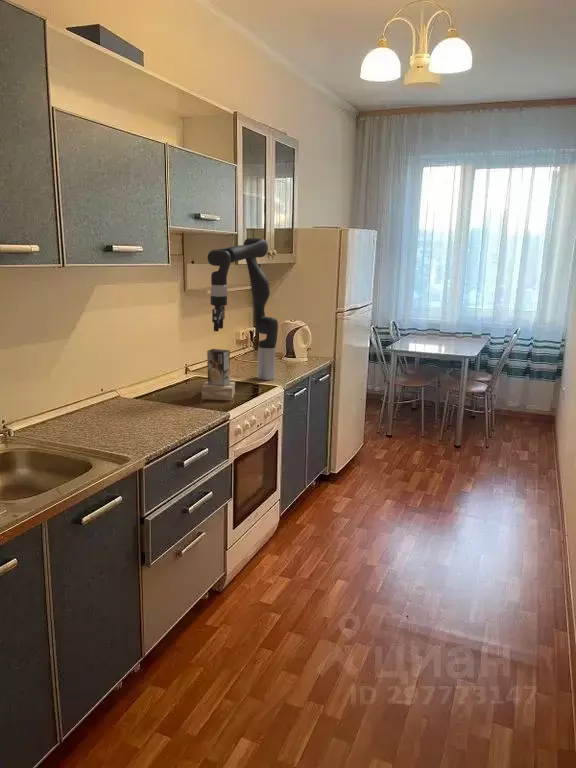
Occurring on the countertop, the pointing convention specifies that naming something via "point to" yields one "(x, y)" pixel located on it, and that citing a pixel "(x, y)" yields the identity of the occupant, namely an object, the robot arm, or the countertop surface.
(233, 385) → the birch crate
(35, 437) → the countertop surface
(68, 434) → the countertop surface
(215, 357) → the coffee box
